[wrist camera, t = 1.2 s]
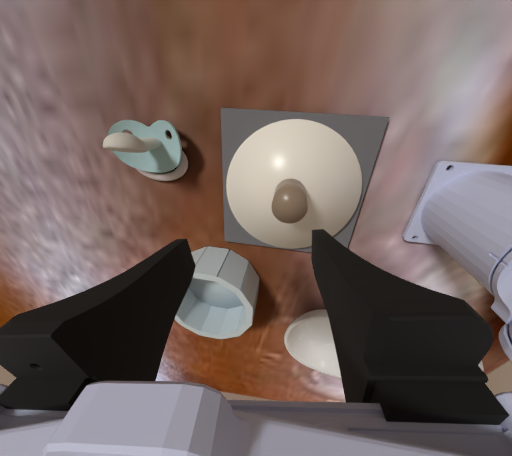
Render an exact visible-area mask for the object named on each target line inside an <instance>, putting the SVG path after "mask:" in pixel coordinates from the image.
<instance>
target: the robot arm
mask: <svg viewBox="0 0 512 456" xmlns="http://www.w3.org/2000/svg"><path fill="white" fill-rule="evenodd" d="M449 165H451V167H450V169H448V170H446V168H447V167H448V166H449ZM413 236H416V237H415V238H412V237H413ZM403 239H404V240H405V241H409V242H417V243H425V244H434V245H439V246H440V247H441V248H442V249H444V250H445V251H446V252H447V253H448V254H449V255H450V256H451V257H452V258H453V259H454V260H455V261H456V262H458V263H459V264H460V265H461V266H462V267H463V268H464V269H465V270H466V271H467V272H468V273H469V274H471V275H472V276H473V277H474V278H475V279H476V280H477V281H478V282H479V283H480V284H481V285H482V286H483V287H485V288H486V289H487V290H488V291H489V292H490V293H491V294H492V295H493V296H494V297H495V300H494V303H493V304H492V306H491V309H492V310H493V311H494V312H495V313H496V314H497V315H498V316H499V317H500V318H501V319H502V320H503V321H504V322H505V324H504V326H503V327H502V328H501V329H500V331H499V341H500V344H501V346H502V348H503V350H504V352H505V354H506V355H507V357H508V358H509V359H510V361H511V362H512V166H505V165H492V164H479V163H466V162H453V161H440V162H438V163H437V164H436V165H435V167H434V169H433V171H432V173H431V175H430V178H429V180H428V182H427V184H426V186H425V188H424V191H423V193H422V195H421V197H420V199H419V201H418V204H417V206H416V208H415V210H414V212H413V214H412V217H411V219H410V221H409V223H408V225H407V227H406V229H405V232H404V234H403ZM312 264H313V269H314V274H315V278H316V281H317V284H318V287H319V290H320V293H321V296H322V299H323V302H324V305H325V308H326V311H327V314H328V318H329V322H330V326H331V331H332V335H333V340H334V344H335V349H336V354H337V358H338V363H339V368H340V373H341V378H342V383H343V389H344V394H345V399H346V403H342V402H298V401H255V400H254V401H252V400H227V399H226V398H225V397H224V396H223V395H222V394H221V392H220V391H218V390H216V389H213V388H211V387H209V386H206V385H204V384H198V383H191V382H169V381H155V380H156V377H157V373H158V369H159V366H160V362H161V358H162V355H163V352H164V348H165V345H166V342H167V339H168V336H169V333H170V330H171V327H172V324H173V321H174V319H175V316H176V314H177V312H178V310H179V307H180V305H181V303H182V301H183V299H184V297H185V294H186V292H187V290H188V288H189V286H190V283H191V281H192V278H193V275H194V271H195V267H196V265H195V262H194V259H193V256H192V253H191V250H190V247H189V244H188V241H187V239H177V240H175V241H173V242H171V243H170V244H168V245H166V246H165V247H163V248H162V249H160V250H159V251H157V252H156V253H154V254H153V255H151V256H150V257H148V258H147V259H145V260H143V261H142V262H140V263H138V264H137V265H135V266H134V267H132V268H130V269H129V270H127V271H125V272H123V273H121V274H120V275H118V276H116V277H114V278H112V279H110V280H108V281H106V282H104V283H101V284H99V285H97V286H95V287H93V288H90V289H88V290H86V291H84V292H81V293H79V294H76V295H74V296H71V297H68V298H66V299H63V300H60V301H58V302H55V303H52V304H49V305H46V306H43V307H40V308H36V309H33V310H30V311H27V312H24V313H21V314H18V315H16V316H15V317H13V318H12V319H10V320H9V321H8V322H7V323H5V324H4V325H3V326H2V327H0V365H1V366H2V367H4V368H5V369H6V370H8V371H9V372H10V373H11V374H13V375H14V376H15V377H17V378H16V379H15V380H14V381H13V382H12V383H11V384H10V385H9V386H7V385H4V384H0V456H512V392H503V393H499V394H496V395H495V396H494V395H493V393H492V392H491V391H490V390H489V388H488V387H487V386H486V384H485V383H486V382H487V381H488V378H487V376H486V374H485V373H484V372H483V371H482V370H481V368H480V367H479V366H478V365H479V363H480V362H481V360H482V359H483V358H484V356H485V355H486V353H487V352H488V350H489V349H490V347H491V345H492V343H493V341H494V331H493V329H492V328H491V327H490V325H489V324H488V323H487V322H486V321H485V320H484V319H483V318H482V317H481V316H480V315H479V314H478V313H477V312H476V311H475V310H474V309H473V308H472V307H471V306H470V305H469V304H467V303H466V302H465V301H464V300H462V299H458V298H455V297H452V296H449V295H446V294H442V293H439V292H436V291H433V290H430V289H427V288H424V287H422V286H419V285H416V284H414V283H411V282H408V281H406V280H404V279H401V278H399V277H397V276H395V275H392V274H390V273H388V272H386V271H384V270H382V269H380V268H378V267H376V266H374V265H373V264H371V263H369V262H367V261H365V260H364V259H362V258H361V257H359V256H358V255H356V254H355V253H353V252H352V251H350V250H349V249H347V248H346V247H345V246H343V245H342V244H341V243H340V242H338V241H337V240H336V239H335V238H333V237H332V236H331V235H330V234H329V233H328V232H326V231H325V230H324V229H317V230H312Z"/></svg>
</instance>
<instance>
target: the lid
mask: <svg viewBox="0 0 512 456" xmlns="http://www.w3.org/2000/svg"><path fill="white" fill-rule="evenodd" d="M226 190H227V198H228V202H229V205H230V208H231V211H232V213H233V215H234V216H235V218H236V220H237V221H238V223H239V224H240V225H241V226H242V227H243V228H244V229H245V230H246V231H247V232H248V233H249V234H250V235H252V236H253V237H255V238H256V239H258V240H260V241H261V242H264V243H266V244H269V245H272V246H275V247H280V248H289V249H294V248H304V247H309V246H312V230H317V229H324V230H325V231H326V232H328V233H329V234H330V235H331V236H333V235H335V234H336V233H337V232H339V231H340V230H341V229H342V228H343V227H344V226H345V225H346V224H347V222H348V221H349V220H350V218H351V217H352V215H353V214H354V212H355V210H356V208H357V205H358V203H359V200H360V195H361V190H362V174H361V169H360V164H359V162H358V159H357V156H356V155H355V153H354V151H353V149H352V148H351V146H350V145H349V144H348V143H347V141H346V140H345V139H344V138H343V137H342V136H341V135H339V134H338V133H337V132H335V131H334V130H332V129H331V128H329V127H327V126H325V125H323V124H321V123H318V122H314V121H311V120H304V119H288V120H282V121H278V122H274V123H271V124H269V125H267V126H265V127H263V128H261V129H259V130H258V131H256V132H254V133H253V134H252V135H251V136H249V137H248V138H247V139H246V140H245V141H244V142H243V143H242V145H241V146H240V147H239V148H238V150H237V151H236V153H235V154H234V157H233V159H232V161H231V163H230V166H229V169H228V174H227V180H226Z"/></svg>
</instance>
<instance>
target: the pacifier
mask: <svg viewBox="0 0 512 456" xmlns="http://www.w3.org/2000/svg"><path fill="white" fill-rule="evenodd" d="M126 129H127V130H129V131H131V132H132V134H133V135H132V134H129V133H124V131H125V130H126ZM167 130H169V131H170V132H171V135H172V139H171V138H170V137H169V136H167ZM103 148H105V149H108V150H112V151H113V152H114V154H115V155H116V156H117V157H118V158H119V159H120V160H121V161H123V162H124V163H126V164H127V165H129V166H131V167H134V168H136V169H137V170H138V171H139V172H140V173H142V174H143V175H145V176H147V177H149V178H151V179H154V180H160V181H171V180H175V179H178V178H180V177H181V176H183V175H184V174H185V172H186V171H187V168H188V160H187V157H186V155H185V154H184V152H183V151H182V145H181V140H180V137H179V134H178V132H177V130H176V129H175V127H174V126H173V125H172V124H171V123H169V122H167V121H164V120H158V121H156V122H154V123H153V124H152V125H151V126H150V127H148V126H146V125H145V124H143V123H140V122H137V121H133V120H122V121H119V122H117V123H115V124H114V125H113V126H112V127H111V128H110V130H109V132H108V136H107V137H106V138H105V140H104V142H103ZM177 166H178V167H177ZM176 167H177V169H176V170H175V171H173V172H169V173H161V172H168V171H171V170H173V169H175V168H176Z"/></svg>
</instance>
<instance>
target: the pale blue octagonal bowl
mask: <svg viewBox="0 0 512 456" xmlns="http://www.w3.org/2000/svg"><path fill="white" fill-rule="evenodd" d="M191 253H192V256H193V259H194V262H195V265H196V267H195V271H194V275H193V278H192V281H191V283H190V286H189V288H188V290H187V292H186V294H185V297H184V299H183V301H182V303H181V305H180V307H179V310H178V312H177V314H176V316H175V320H176V321H177V322H178V323H179V324H181V326H183V327H185V328H187V329H189V330H191V331H193V332H194V333H196V334H198V335H199V334H200V335H201V336H206V337H211V338H217V339H220V338H221V339H225V338H231V337H237V336H239V335H241V334H242V333H244V332H245V331H246V330H247V329H248V328H249V327H250V326H252V322H253V317H254V312H255V307H256V302H257V298H258V291H259V276H258V275H257V273H256V272H255V270H254V268H253V267H252V265H251V263H250V262H249V261H248V260H246V259H245V258H243V257H241V256H240V255H238V254H237V253H235V252H233V251H232V250H230V251H229V249H224V248H216V247H209V246H208V247H204V248H202V249H199V250H196V251H194V252H191Z"/></svg>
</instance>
